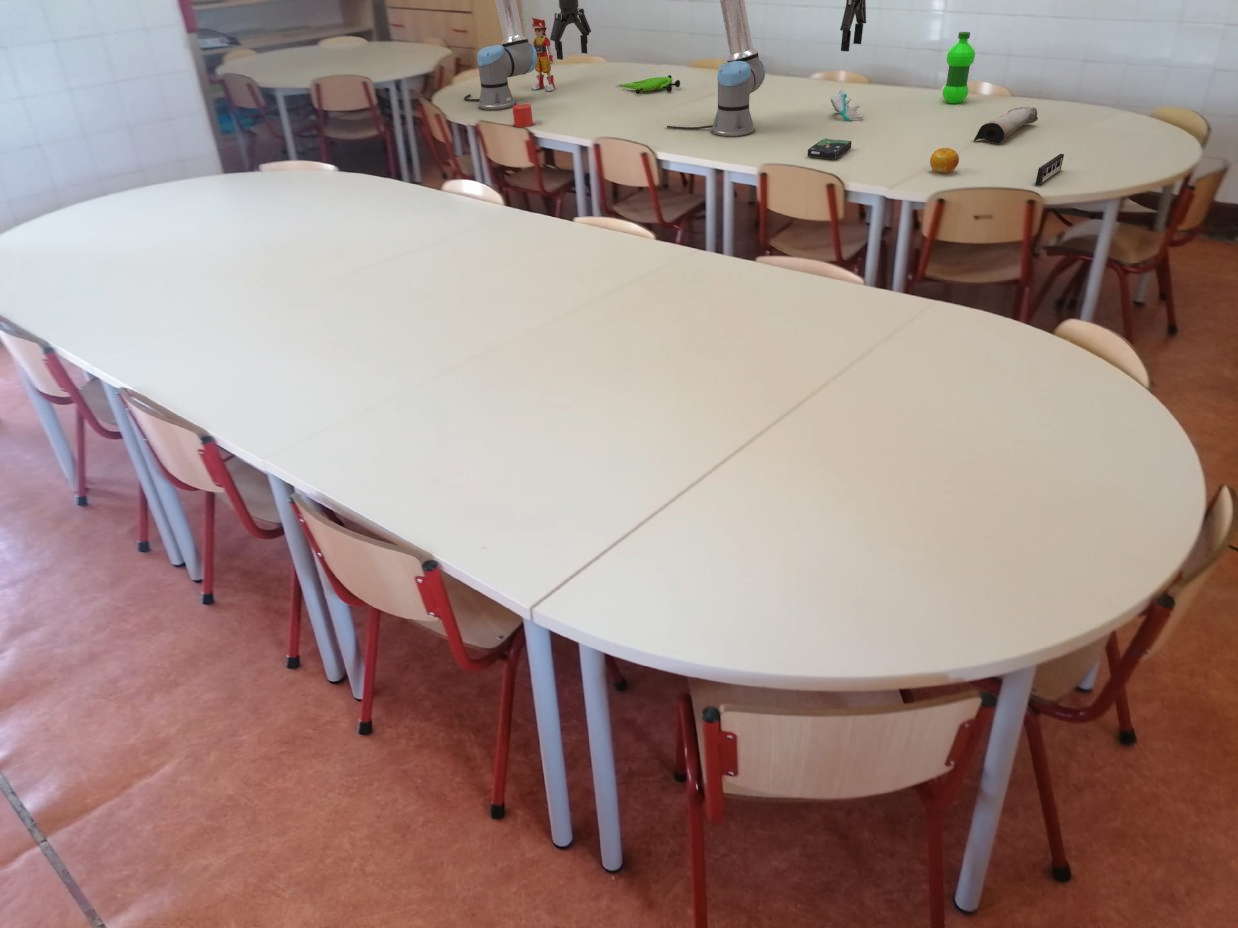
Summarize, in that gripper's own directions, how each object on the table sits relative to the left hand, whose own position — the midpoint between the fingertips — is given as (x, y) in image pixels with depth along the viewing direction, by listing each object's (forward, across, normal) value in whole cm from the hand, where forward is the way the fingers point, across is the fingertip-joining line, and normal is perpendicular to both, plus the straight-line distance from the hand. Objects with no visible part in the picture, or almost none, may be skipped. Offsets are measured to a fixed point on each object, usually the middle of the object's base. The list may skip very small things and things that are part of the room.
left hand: (572, 56), depth 358 cm
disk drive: (+21, +8, -117) cm, 119 cm away
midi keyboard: (+21, +22, -186) cm, 188 cm away
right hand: (-6, +38, -104) cm, 111 cm away
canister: (+22, -24, +6) cm, 33 cm away
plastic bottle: (+21, +93, -119) cm, 153 cm away
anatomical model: (+21, +52, -95) cm, 111 cm away
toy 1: (+23, +24, +46) cm, 57 cm away
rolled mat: (+21, +62, -154) cm, 168 cm away
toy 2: (+22, +48, +6) cm, 54 cm away
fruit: (+21, +10, -157) cm, 159 cm away
